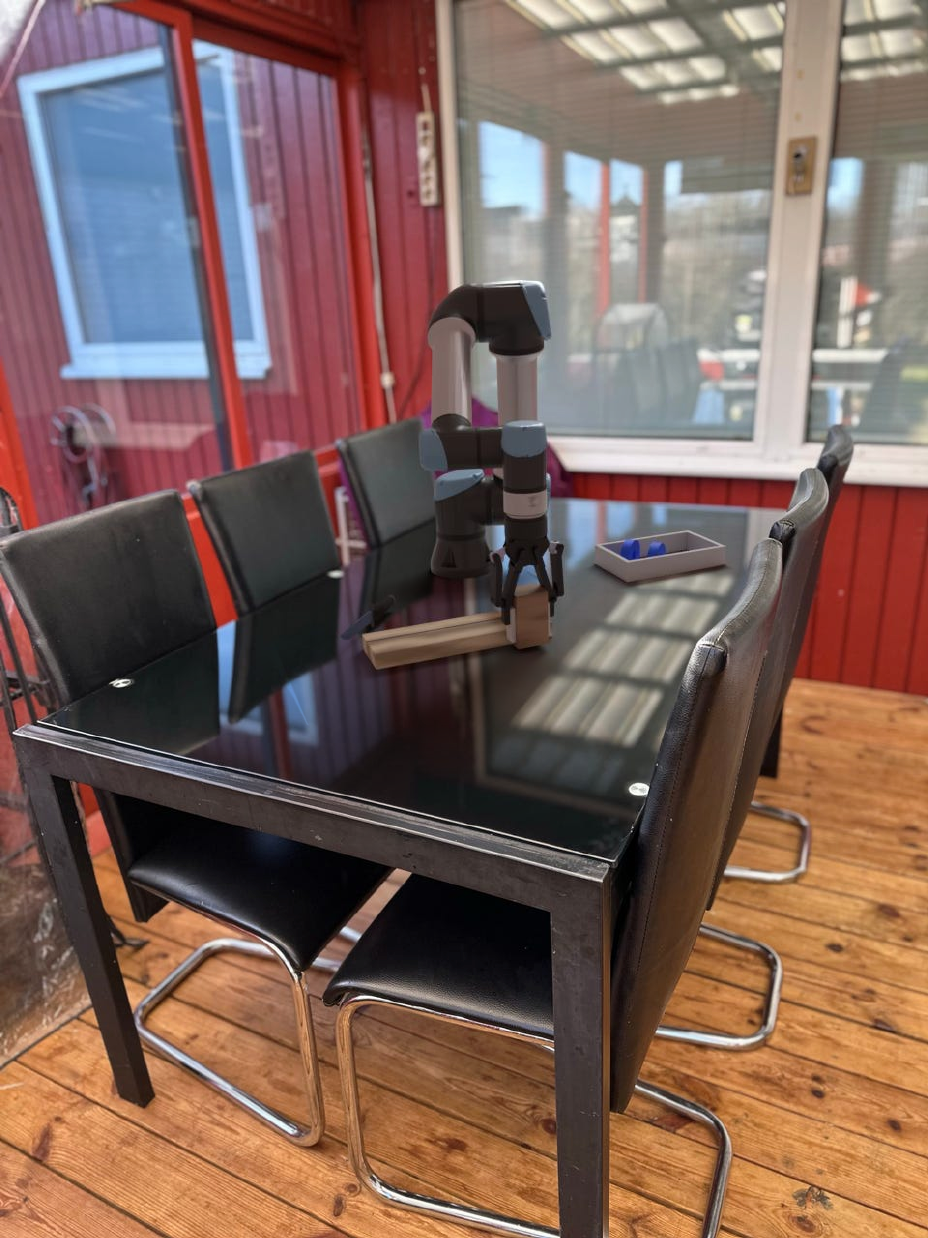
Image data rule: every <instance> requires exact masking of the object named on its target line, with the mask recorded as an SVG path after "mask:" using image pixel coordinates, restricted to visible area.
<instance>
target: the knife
mask: <svg viewBox="0 0 928 1238" xmlns="http://www.w3.org/2000/svg"><path fill="white" fill-rule="evenodd" d="M395 604H396V598H395V595H392V594H389V595H388V596H387V597H386V598H384V599H382V600H380V601H378V602H376V603H375V604H374V603H373V602H371V603H369V611H367V612H366V613H365V614H364V615H362V616H361V617H360V618H358V619H357V620H355V621H354V622H353V623H352V624H351V625H350V626H349V627H348V628H347V629H346V630H344V632H343V633H341V634H339V636H340V638H341V639H342V640H344V641H347V640H351V639H352V638H353V637H355V636H356V635H357V634H359V633H360V631H362V630H363V629H364V628H366V627H367V626H368V625H370V626H371V628H375V626H376V624H375V621H376V620H377V619H378V618H380V617H381V616H384V615H385V614H386V613H387V611H389V610H390V608H391V607H393V606H395Z"/></svg>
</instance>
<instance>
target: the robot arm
mask: <svg viewBox="0 0 928 1238" xmlns="http://www.w3.org/2000/svg"><path fill="white" fill-rule="evenodd" d="M548 304H549V303H548V297H547V293H546V288H545V285H544V283H542V282H541V281H538V280H524V279H518V280H517V279H515V280H502V281H488V282H469V283H465V284H462V285H461V286H458V287H456V288H455V289H453V290H452V291H450V292H449V293H447V294H446V295H445V296H444V298H442V300H440V302H439V303H438V304H437V305H436V307H435V308H434V311H433V312H432V313H431V317H430V318H429V319H430V320H429V323H428V327H427V343H428V346H429V348H430V349H431V350H432V360H431V361H432V363H431V364H432V365H431V367H432V369H431V371H432V372H431V373H432V374H431V412H430V413H431V419H430V423H431V425H430V427H429V428H424V429H421V430H420V431H419V434H418V452H419V453H418V454H419V463H420V466H421V468H422V469H423V470H425V471H429V472H445V473H444V474H442V475H440V476H438V477H437V478H436V479H435V481H434V485H433V493H434V494H433V501H434V513H435V514H434V515H435V529H436V531H435V532H436V533H435V534H436V540H435V541H436V542H435V545H434V549H433V552H432V555H431V560H430V568H431V569H430V570H431V573H432V574H434V575H435V576H438V577H440V578H444V579H454V580H455V579H456V580H458V579H459V580H463V579H472V578H477V577H482V576H485V575H487V574H490V594H489V595H490V597H489V598H490V599H489V600H490V603H491V604H493V605H494V606H495V607H496V608H500V607H501V608H500V610H501V621H502V623H503V624H504V625H506V633H507V639H508V640H509V641H511V642H512V643H516V622H515V608H514V607H512V606H511V605H512V601H513V597H514V594H515V590H516V586H518V581H519V579H520V575H521V573H522V571H523V569H524V568H525V567H528V566H532V567H533V568H534V571H535V574H536V577H537V580H538V584H539V585H540V586H542V587H543V588H544V589H546V590H547V591H548V616H549V636H550V621H551V618H554V616H555V603H556V602H557V601H558V598H559V597H563V596H564V594H565V587H564V586H565V585H564V572H563V571H564V569H563V553H564V549H565V545H564V544H563V543H561V542H560V541H559V540H556V539H555V540H551V541H550V539H549V537H548V532H549V529H548V528H549V527H548V524H549V522H548V513H549V508H550V503H551V502H550V499H551V486H552V479H551V474H550V473H549V472H547V470H548V469H547V467H548V465H547V464H548V461H547V460H548V457H547V456H548V455H547V453H548V452H547V451H548V450H547V448H548V437H547V430H546V429H547V428H546V425H545V424H544V423H543V422H541V421H538V356H539V355H540V354H541V353H542V352H543V351H544V350H545V342H546V341H548V340H551V339H552V331H551V330H552V328H551V319H550V312H549V305H548ZM476 343H479V344H482V343H483V344H484V343H485V344H486V343H488V352H489V354H491V355H492V356H493V357H494V358H495V359H496V387H497V388H496V389H497V390H496V391H497V392H496V393H497V423H498V425H489V426H488V425H487V426H486V425H485V426H473V418H472V417H473V414H472V413H473V412H472V411H473V408H472V407H473V406H472V403H473V401H472V399H473V398H472V349H473V348H474V347H475V344H476ZM484 470H492V474H491V475H488V474H487V475H485V472H484ZM446 472H447V473H446ZM493 526H494V527H495V526H496V527H497V526H503V527H504V530H503V532H504V542H503V545H502V547H501V548H498V549H497V550H492V549H491V545H490V544H489V541H488V539H487V531H486V527H493ZM547 551H548V552H549V561H550V571H551V572H550V573H551V574H550V575H551V581H550V578H549V574H548V572H547V569H546V567H547V566H546V563H545V560H544V556H545V554H546V552H547ZM505 556H507V557H508V558H509V559H508V560H509V561H508V564H507V568H508V570H507V573H506V577H505V580H504V585H503V575H504V574H503V571H504V569H503V568H504V566H503V563H504V561H505ZM502 589H503V592H502Z"/></svg>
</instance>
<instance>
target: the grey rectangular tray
mask: <svg viewBox="0 0 928 1238" xmlns="http://www.w3.org/2000/svg"><path fill="white" fill-rule="evenodd" d="M632 539H633V540H638V542H639V546H640V558H639V559H636V560H630V561H629V560H627V559H625V558H623V557H622V556H620V553H621V548H622V545H623V543H624V541H625V540H626V539H623V540H618V541H612V542H611V541H610V542H604V543H599V544H594V564H596V565H597V566H598V567H601V569H604V570H606V571H607V572H609V573H610V574H613V575H614V576H616V577H617V578H619V579H621V580H622V581H623V582H626V583H630V582H631V583H632V582H635V581H636V582H637V581H642V580H643V581H644V580H648V579H649V580H650V579H653V578H659V577H664V576H665V575H666V576H670V574H671V575H675V573H676V574H682V573H685V572H690V571H691V572H692V571H696V570H702V569H707V568H713V567H717V566H722V565H725V564H726V555H727V552H726V551H727V550H726V549H727V546H726V545H725V544H722V543H720V542H717V541H715V540H712V539H710V538H708V537H706V536H703V535H701V534H698V533H696V532H694V531H691V530H689V529H686V530H682V531H681V530H680V531H673V532H668V533H667V532H666V533H662V534H661V533H660V534H655V535H648V536H642V537H636V538H632ZM653 542H658V543H664V544H665V546H666V555H661V556H654V557H648V558H647V554H648V550H649V547H650V545H651V544H652V543H653ZM686 549H687V550H686ZM681 550H682V551H681ZM688 550H689V551H688ZM666 576H665V577H666Z"/></svg>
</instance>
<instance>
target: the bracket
mask: <svg viewBox="0 0 928 1238" xmlns="http://www.w3.org/2000/svg"><path fill="white" fill-rule="evenodd" d="M633 539H634V538H631V539H630V538H627V539H624V540H625V541H624V543H623V545H622V548H621V553H620V556H622V557H623V558H625V559H627V560H629V561H630V560H636V559H641V557H640V546H639V542H638V540H633ZM661 555H667V553H666V546H665V544H664V543H658V542H653V543H652V544H651V545H650V547H649V550H648V554H647V556H646V558H648V557H654V556H661Z"/></svg>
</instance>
